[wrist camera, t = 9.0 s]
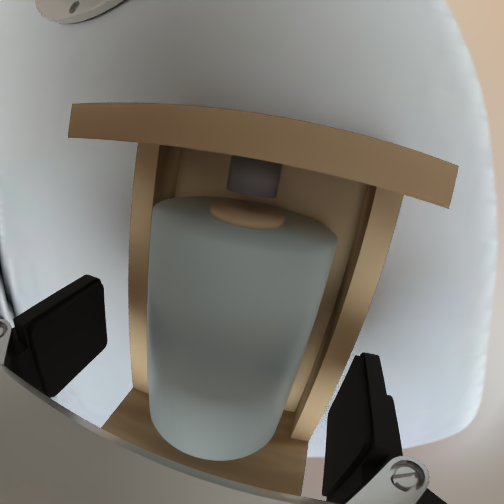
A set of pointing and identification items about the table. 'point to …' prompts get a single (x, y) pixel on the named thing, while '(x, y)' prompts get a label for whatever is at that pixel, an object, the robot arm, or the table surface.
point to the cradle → (278, 195)
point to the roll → (229, 319)
